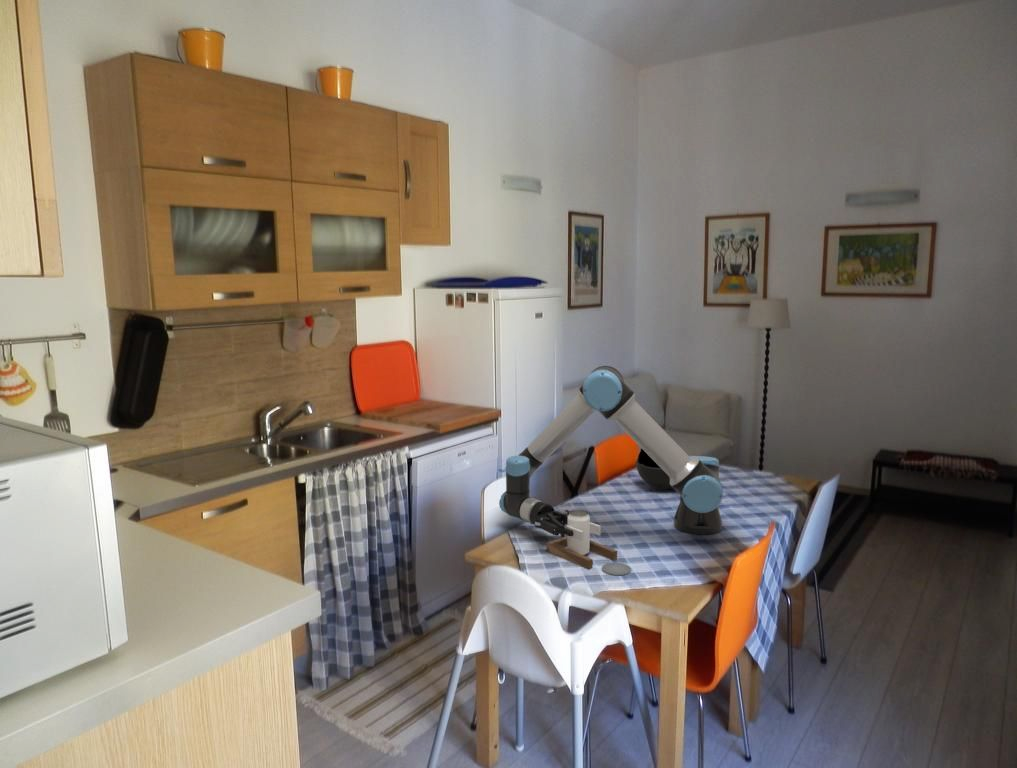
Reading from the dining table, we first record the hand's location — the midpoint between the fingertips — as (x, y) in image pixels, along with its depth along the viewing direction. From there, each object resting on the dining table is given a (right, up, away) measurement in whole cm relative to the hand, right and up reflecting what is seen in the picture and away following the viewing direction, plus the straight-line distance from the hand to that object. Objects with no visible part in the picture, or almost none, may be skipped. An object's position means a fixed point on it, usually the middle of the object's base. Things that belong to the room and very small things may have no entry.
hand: (591, 533), depth 207 cm
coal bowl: (+35, +3, +70) cm, 78 cm away
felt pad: (+6, -9, -7) cm, 13 cm away
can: (-3, -7, +5) cm, 9 cm away
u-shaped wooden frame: (-2, -7, +3) cm, 8 cm away
